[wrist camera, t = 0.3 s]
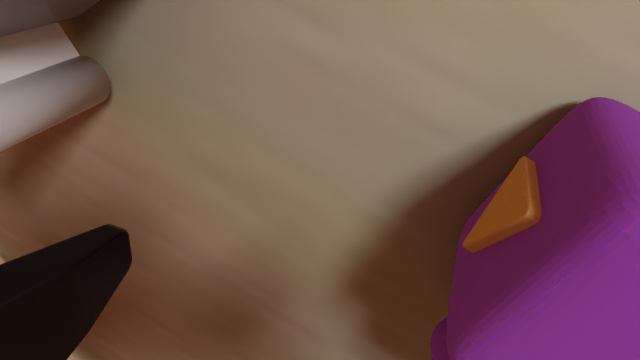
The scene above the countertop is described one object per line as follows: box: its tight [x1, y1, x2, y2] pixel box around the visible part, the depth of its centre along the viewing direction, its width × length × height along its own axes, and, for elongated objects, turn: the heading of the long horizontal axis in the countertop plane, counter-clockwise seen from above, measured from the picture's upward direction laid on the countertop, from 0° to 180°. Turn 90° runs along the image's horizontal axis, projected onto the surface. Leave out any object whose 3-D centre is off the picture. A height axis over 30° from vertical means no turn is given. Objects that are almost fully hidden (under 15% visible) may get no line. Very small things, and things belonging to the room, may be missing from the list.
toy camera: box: [431, 97, 640, 360], centre depth 19 cm, size 11×14×10 cm
